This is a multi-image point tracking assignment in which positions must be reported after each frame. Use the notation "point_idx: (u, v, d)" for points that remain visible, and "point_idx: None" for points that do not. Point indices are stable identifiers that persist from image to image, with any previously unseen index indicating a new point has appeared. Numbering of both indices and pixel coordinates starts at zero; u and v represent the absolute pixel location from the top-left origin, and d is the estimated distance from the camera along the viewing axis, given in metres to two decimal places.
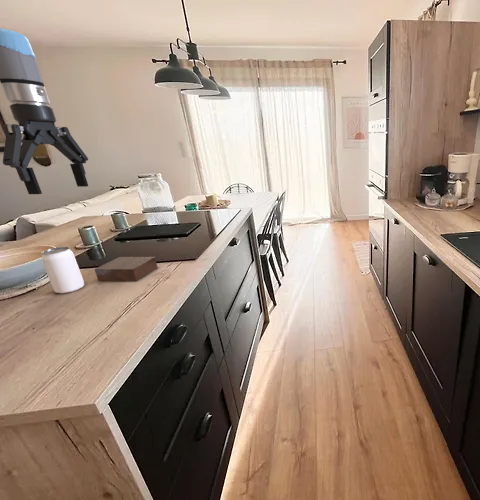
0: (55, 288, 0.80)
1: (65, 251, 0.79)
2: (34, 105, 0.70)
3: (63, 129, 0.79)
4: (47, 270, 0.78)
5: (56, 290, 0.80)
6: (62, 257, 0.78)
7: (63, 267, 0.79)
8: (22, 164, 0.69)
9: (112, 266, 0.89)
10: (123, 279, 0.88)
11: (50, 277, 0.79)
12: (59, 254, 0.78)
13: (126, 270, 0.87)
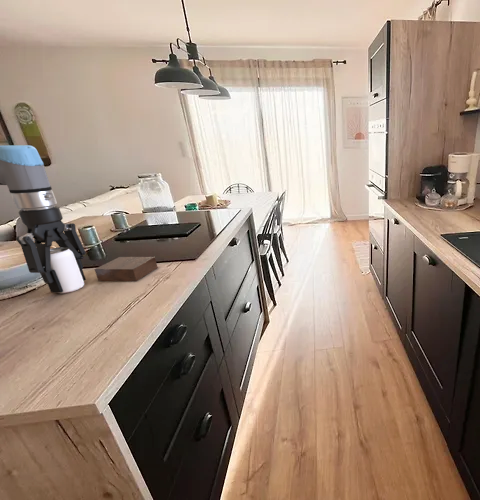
0: None
1: (65, 251, 0.79)
2: (41, 210, 0.73)
3: (70, 225, 0.83)
4: None
5: None
6: (62, 257, 0.78)
7: (63, 267, 0.79)
8: (46, 270, 0.76)
9: (112, 266, 0.89)
10: (123, 279, 0.88)
11: None
12: (59, 254, 0.78)
13: (126, 270, 0.87)
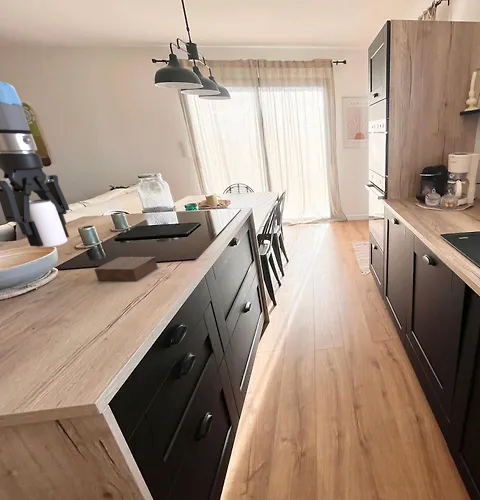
0: None
1: (46, 202, 0.75)
2: (19, 154, 0.68)
3: (52, 177, 0.78)
4: None
5: None
6: (42, 208, 0.74)
7: (44, 219, 0.74)
8: (24, 220, 0.71)
9: (112, 266, 0.89)
10: (123, 279, 0.88)
11: None
12: (39, 204, 0.73)
13: (126, 270, 0.87)
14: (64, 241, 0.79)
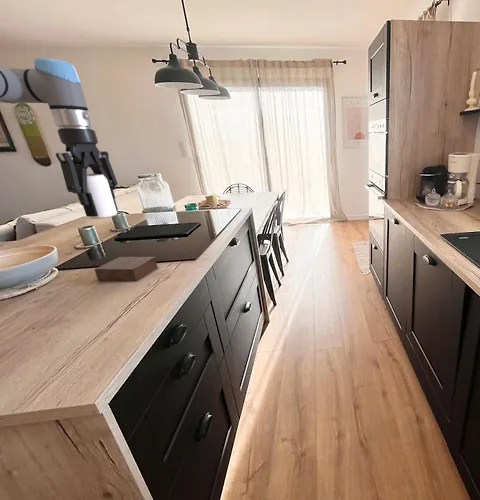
0: None
1: (100, 175, 0.80)
2: (80, 129, 0.74)
3: (103, 153, 0.84)
4: None
5: None
6: (98, 180, 0.80)
7: (99, 190, 0.80)
8: (83, 191, 0.77)
9: (112, 266, 0.89)
10: (123, 279, 0.88)
11: None
12: (95, 177, 0.79)
13: (126, 270, 0.87)
14: (115, 213, 0.85)
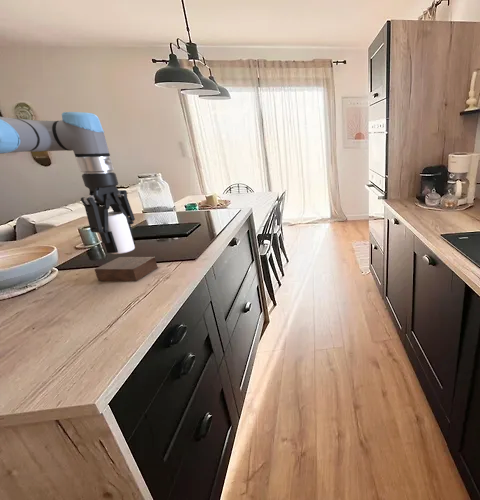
0: None
1: (120, 214, 0.86)
2: (102, 174, 0.80)
3: (122, 192, 0.89)
4: None
5: None
6: (118, 219, 0.85)
7: (119, 229, 0.85)
8: (105, 230, 0.82)
9: (112, 266, 0.89)
10: (123, 279, 0.88)
11: None
12: (115, 216, 0.84)
13: (126, 270, 0.87)
14: (133, 248, 0.90)
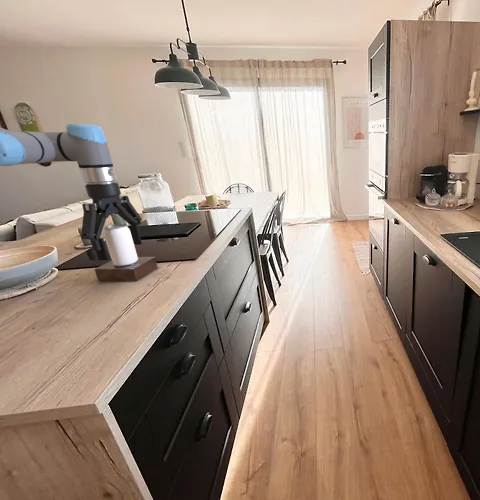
0: (114, 261, 0.88)
1: (124, 227, 0.87)
2: (105, 185, 0.81)
3: (124, 198, 0.90)
4: (108, 244, 0.86)
5: (115, 263, 0.88)
6: (122, 232, 0.86)
7: (123, 241, 0.87)
8: (96, 237, 0.80)
9: (112, 266, 0.89)
10: (123, 279, 0.88)
11: (111, 251, 0.87)
12: (119, 229, 0.86)
13: (126, 270, 0.87)
14: (136, 259, 0.92)
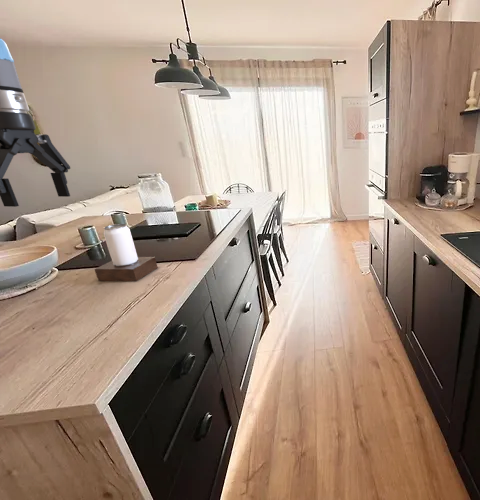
0: (114, 261, 0.88)
1: (124, 227, 0.87)
2: (11, 113, 0.66)
3: (43, 137, 0.75)
4: (108, 244, 0.86)
5: (115, 263, 0.88)
6: (122, 232, 0.86)
7: (123, 241, 0.87)
8: None
9: (112, 266, 0.89)
10: (123, 279, 0.88)
11: (111, 251, 0.87)
12: (119, 229, 0.86)
13: (126, 270, 0.87)
14: (136, 259, 0.92)
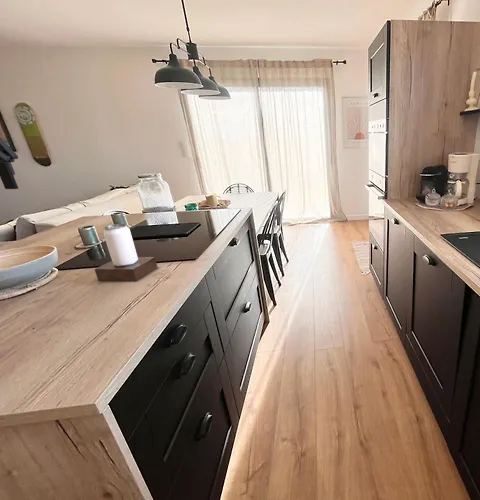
0: (114, 261, 0.88)
1: (124, 227, 0.87)
2: None
3: None
4: (108, 244, 0.86)
5: (115, 263, 0.88)
6: (122, 232, 0.86)
7: (123, 241, 0.87)
8: None
9: (112, 266, 0.89)
10: (123, 279, 0.88)
11: (111, 251, 0.87)
12: (119, 229, 0.86)
13: (126, 270, 0.87)
14: (136, 259, 0.92)
